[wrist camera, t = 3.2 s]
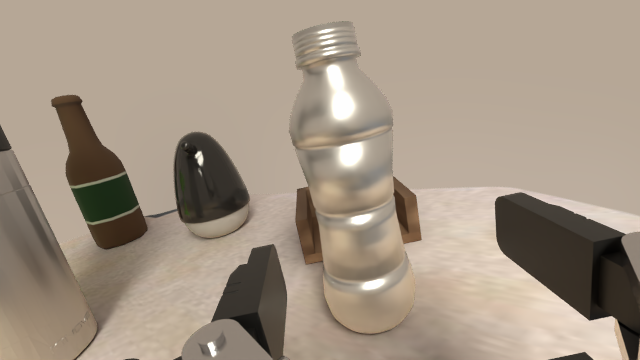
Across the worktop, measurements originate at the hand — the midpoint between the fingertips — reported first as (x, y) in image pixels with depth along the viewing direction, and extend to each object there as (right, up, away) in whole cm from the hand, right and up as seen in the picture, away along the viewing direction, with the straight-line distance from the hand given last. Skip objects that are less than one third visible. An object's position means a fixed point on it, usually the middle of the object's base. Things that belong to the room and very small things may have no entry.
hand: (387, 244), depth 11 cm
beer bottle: (-36, -8, +41) cm, 55 cm away
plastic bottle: (+2, -8, +12) cm, 15 cm away
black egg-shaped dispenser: (-17, -6, +35) cm, 40 cm away
